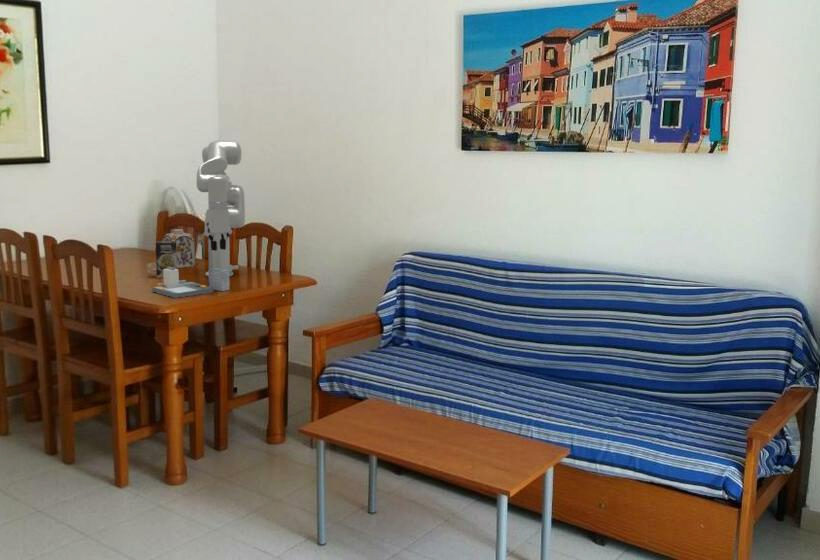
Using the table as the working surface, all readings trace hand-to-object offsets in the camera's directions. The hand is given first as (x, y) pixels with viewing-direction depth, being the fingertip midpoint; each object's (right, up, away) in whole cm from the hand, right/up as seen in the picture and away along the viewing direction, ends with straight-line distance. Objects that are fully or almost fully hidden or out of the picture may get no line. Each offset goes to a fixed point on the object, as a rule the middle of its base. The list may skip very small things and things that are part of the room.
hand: (218, 249), depth 339 cm
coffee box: (-30, -12, +28) cm, 43 cm away
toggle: (-19, -15, -3) cm, 25 cm away
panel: (-14, -18, -4) cm, 23 cm away
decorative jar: (-32, -6, +55) cm, 64 cm away
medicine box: (0, -17, +3) cm, 18 cm away
